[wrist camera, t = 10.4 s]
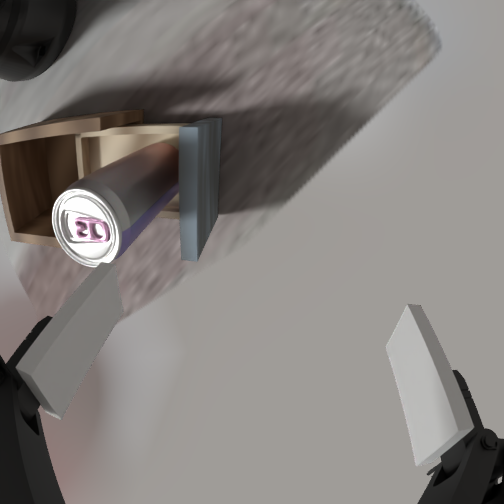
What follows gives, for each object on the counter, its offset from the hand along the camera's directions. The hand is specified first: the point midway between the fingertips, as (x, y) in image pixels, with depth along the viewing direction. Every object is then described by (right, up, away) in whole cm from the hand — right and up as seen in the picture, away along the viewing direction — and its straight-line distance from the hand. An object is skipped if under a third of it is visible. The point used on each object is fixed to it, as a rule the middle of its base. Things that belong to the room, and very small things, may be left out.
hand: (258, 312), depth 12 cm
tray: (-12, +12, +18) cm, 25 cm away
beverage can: (-10, +11, +17) cm, 23 cm away
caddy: (-20, +13, +19) cm, 31 cm away
